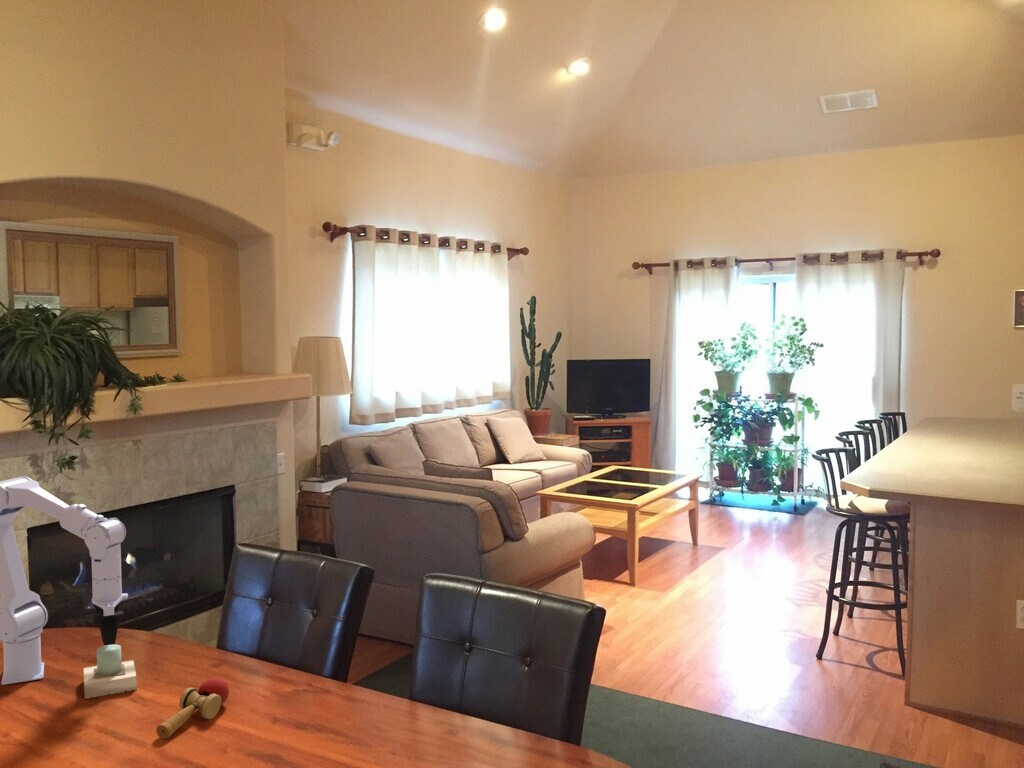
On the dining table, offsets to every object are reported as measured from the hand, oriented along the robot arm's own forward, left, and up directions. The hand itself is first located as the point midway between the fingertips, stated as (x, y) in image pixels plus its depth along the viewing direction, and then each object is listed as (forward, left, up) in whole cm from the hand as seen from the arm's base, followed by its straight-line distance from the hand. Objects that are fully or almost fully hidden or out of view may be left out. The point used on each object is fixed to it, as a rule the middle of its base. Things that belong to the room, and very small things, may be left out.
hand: (108, 638), depth 189 cm
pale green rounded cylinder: (0, 0, -7) cm, 7 cm away
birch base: (0, 0, -10) cm, 10 cm away
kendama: (+25, +14, -11) cm, 31 cm away
